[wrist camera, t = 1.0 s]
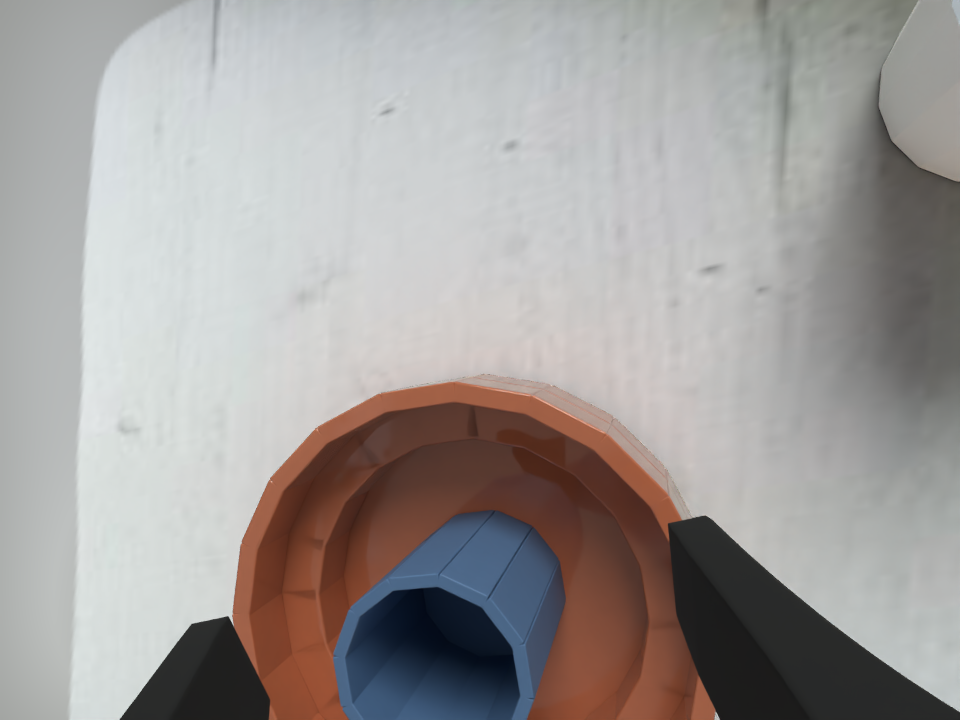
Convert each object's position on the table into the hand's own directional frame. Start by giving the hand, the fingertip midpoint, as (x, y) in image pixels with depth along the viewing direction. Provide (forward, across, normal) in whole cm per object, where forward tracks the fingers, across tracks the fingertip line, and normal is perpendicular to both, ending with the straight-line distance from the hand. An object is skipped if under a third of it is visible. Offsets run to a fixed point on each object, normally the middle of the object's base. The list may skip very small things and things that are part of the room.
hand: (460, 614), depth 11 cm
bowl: (+10, 0, +9) cm, 13 cm away
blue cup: (+9, 0, +9) cm, 13 cm away
